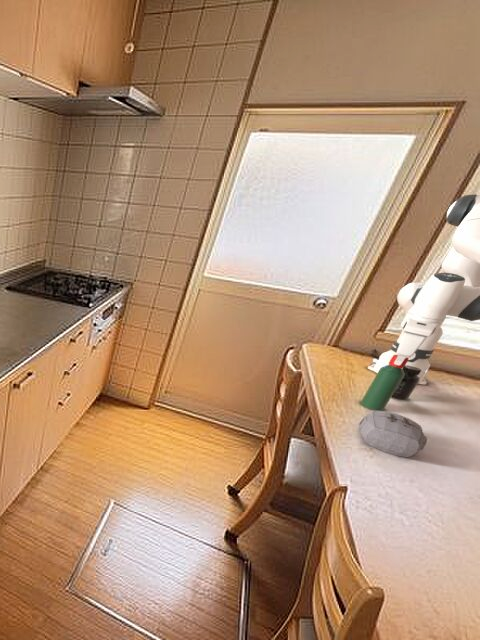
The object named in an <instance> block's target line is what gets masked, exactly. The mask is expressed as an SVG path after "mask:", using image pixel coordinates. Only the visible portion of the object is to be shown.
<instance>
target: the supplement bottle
mask: <svg viewBox="0 0 480 640" xmlns="http://www.w3.org/2000/svg"><path fill="white" fill-rule="evenodd" d="M403 371H404V373H405V375H404V377H403V379H402V380H401V382H400V384H399V385H398V387H397V388H396V390H395V392H394V393H393V395H392V397H391V398H393V399H397V400H399V401H400V400H401V401H407V400H408V399H409V398H410V396H411V395H412V393H413V391H414V390H415V389H416V387H417V385H419V384H418V382H419V380H420V378H419V377H418V375H419V374H420V372H421V369H419V368H416V367H413V366H408V365H405V366H404V368H403Z"/></svg>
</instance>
